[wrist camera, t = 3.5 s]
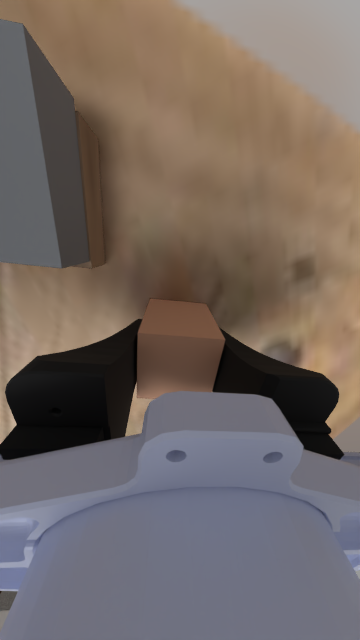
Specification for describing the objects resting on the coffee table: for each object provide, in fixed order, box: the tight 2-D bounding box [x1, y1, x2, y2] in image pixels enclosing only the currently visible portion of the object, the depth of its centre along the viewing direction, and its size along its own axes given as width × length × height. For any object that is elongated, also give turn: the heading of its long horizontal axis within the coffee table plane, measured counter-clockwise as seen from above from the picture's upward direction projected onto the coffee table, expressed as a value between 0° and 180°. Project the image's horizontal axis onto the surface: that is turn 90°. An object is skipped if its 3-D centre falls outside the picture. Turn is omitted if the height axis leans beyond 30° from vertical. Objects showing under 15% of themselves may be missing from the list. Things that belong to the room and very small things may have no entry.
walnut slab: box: [74, 111, 105, 269], centre depth 9 cm, size 6×6×2 cm
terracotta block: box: [137, 298, 225, 399], centre depth 11 cm, size 4×4×5 cm
